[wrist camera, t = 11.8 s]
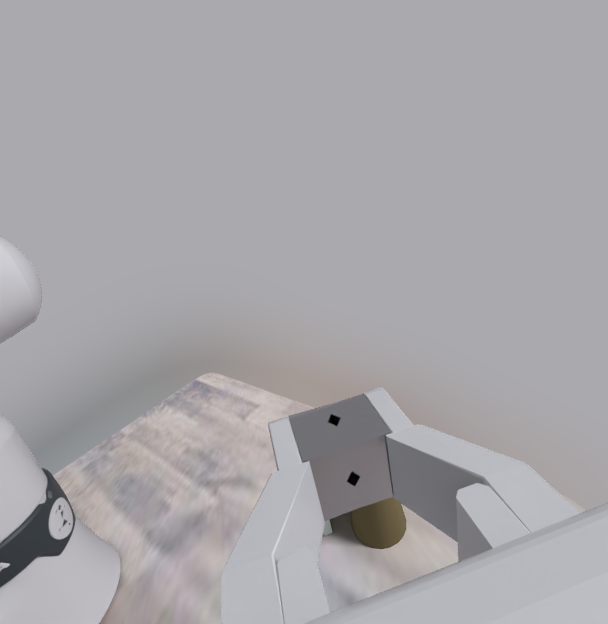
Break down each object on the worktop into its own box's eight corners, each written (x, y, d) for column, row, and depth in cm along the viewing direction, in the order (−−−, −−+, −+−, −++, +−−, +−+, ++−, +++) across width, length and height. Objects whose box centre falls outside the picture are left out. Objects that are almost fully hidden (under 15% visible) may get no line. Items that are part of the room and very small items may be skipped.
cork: (376, 561, 36) (362, 483, 32) (340, 518, 41) (324, 445, 37) (418, 525, 39) (410, 448, 35) (380, 488, 44) (369, 418, 40)
